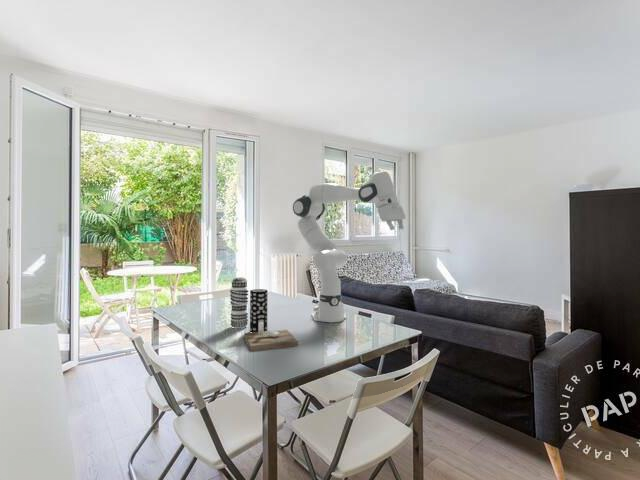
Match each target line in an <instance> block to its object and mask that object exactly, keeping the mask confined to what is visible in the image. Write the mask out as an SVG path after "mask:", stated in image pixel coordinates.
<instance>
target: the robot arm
mask: <svg viewBox="0 0 640 480" xmlns="http://www.w3.org/2000/svg"><path fill="white" fill-rule="evenodd" d="M394 188H395V187H394V183H393V180H392V178H391V175H390V174H389V172H387V171H384V170H382V171H381V170H380V171H377V172H374V173H373V174H372V175H371V177H370V179H369V180H368V181H367V182H366V183H364V184H363V185H361V186H360V187H359V188H358V187H357V188H356V187H355V188H354V187H349V186H346V185H341V184H337V183H332V182H331V183H329V182H328V183H319V184H315V185H313V186H312V187H310V189H309V194H308V195H303V196H301V197H300V198H297V199H296V200H295V201H294V202H293V203H292V212H293V213H294V215H296V216H297V217H300V219H299V220H298V222H297V228H298V229H299V232H300V234H301V235H302V237H303V239H304V240H305V241H306V243H307V245H308V246H309V247H310V249H311V250H313V251H314V252H316V253H315V254H314V255H313V259H312V261H313V262H312V263H313V265H314V267H315V268H316V269H317V272H318V274H319V278H320V295H319V299H318V300H319V301H318V302H317V303H316V305H315V306H314V307H313V312H311V317H312V319H313V321H315V322H323V323H339V322H343V321H344V320H345V319H347V316H346V315H345V311H344V310H345V309H344V307H345V306H344V303H343V302H342V293H341V292H342V291H341V289H342V288H341V286H342V285H341V282H342V281H341V279H340V278H339V276H338V271H337V270H338V269H341V268H343V267H344V266H345V265H347V263H348V260H349V259H348V254H347V253H346V252H345V251H344V250H342V249H341V248H339V247H338V246H337V245H336V244H335V243H334V242H332V241H331V239H330V238H329V237H328V236H327V235H326V234H325V232H324V231H323V229H322V228H321V226H320V225H319V224H318V223H317V221H318V220H319V219H321V217H322V216H323V214H324V213H325V210H326V204H336V203H337V204H338V203H342V202H347V201H361V202H362V203H367V204H375V207H376V208H377V213H378V216H379V218H380V220H381V222H383V223H385V222H386V224H387V226H388V227H389V230H390V231H393V230H394V231H395V226H394V225H393V222H396V221H397V223H398V226H397V227H398V229H399V230H403V229H404V225H403V224H404V221H403V220H405V219H406V214H405V211H404V208H403V207H402V205H400V203H399V200H398V197H397V193H396V191H395V189H394Z"/></svg>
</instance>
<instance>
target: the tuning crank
mask: <svg viewBox="0 0 640 480" xmlns="http://www.w3.org/2000/svg"><path fill="white" fill-rule="evenodd" d="M263 331H264V323H263V322H259V323H258V334H257V335H258V336H259V337H261V336H270V337H278V336H279V332H270V333H263Z"/></svg>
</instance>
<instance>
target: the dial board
mask: <svg viewBox="0 0 640 480" xmlns="http://www.w3.org/2000/svg"><path fill="white" fill-rule="evenodd" d="M270 332H279V336H278V337H270V336H261V337H259V336H258V335H257V334H258V332H252V333H250V332H244V333H243V336H244V337H245V338H244V340H245V339H246V340H245V342H246V341H247V342H246V344H247V343H248V344H247V346H248V348H249V350H250V351H251V350H253V351H260V350H259V349H263V350H270V349H271V348H272V349H280V348H290V347H298V346H299V340H297V339H296V337H295V336H294V335H293V334H292V333H291V332H290V331H289V330H288V329H277V330H267V331H264V332H263V333H270Z"/></svg>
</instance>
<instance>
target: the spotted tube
mask: <svg viewBox="0 0 640 480" xmlns="http://www.w3.org/2000/svg"><path fill="white" fill-rule="evenodd" d="M259 322H263V323H264V331H268V289H263V288H258V289H257V288H256V289H251V290H249V333H250V332H258V323H259ZM264 331H263V332H264Z"/></svg>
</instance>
